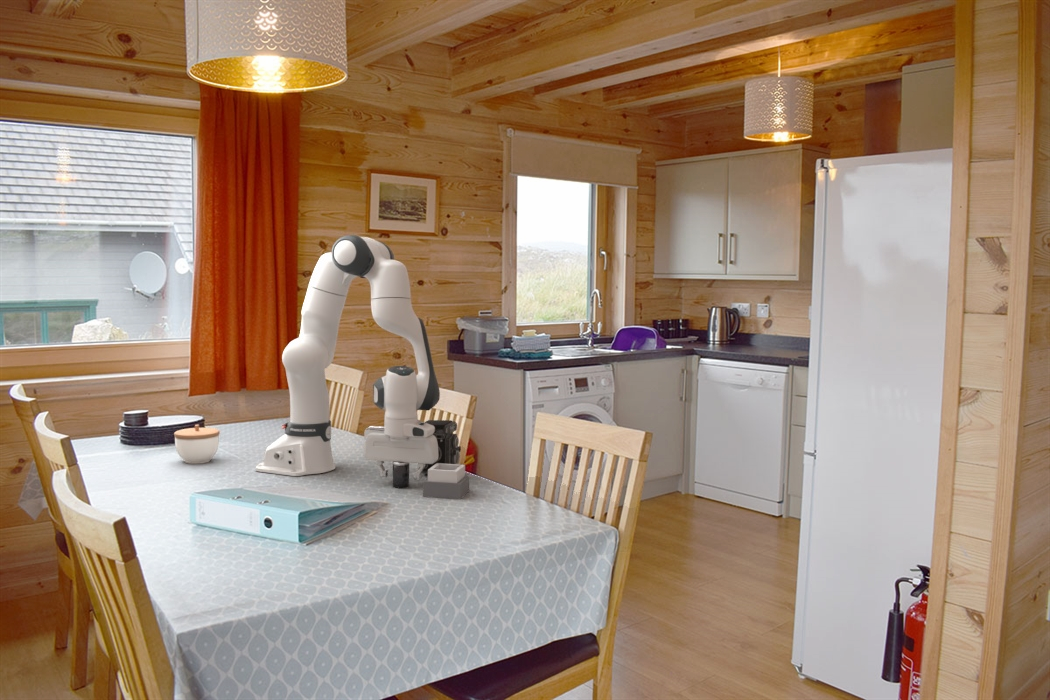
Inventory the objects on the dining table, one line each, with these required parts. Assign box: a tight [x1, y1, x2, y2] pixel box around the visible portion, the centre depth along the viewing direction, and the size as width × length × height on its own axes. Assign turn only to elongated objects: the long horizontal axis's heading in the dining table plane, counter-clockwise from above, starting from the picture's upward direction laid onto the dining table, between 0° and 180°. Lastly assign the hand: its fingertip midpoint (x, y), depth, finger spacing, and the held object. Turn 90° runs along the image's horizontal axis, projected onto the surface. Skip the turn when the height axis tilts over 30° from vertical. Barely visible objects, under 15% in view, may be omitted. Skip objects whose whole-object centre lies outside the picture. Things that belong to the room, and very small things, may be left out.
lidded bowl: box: [173, 424, 220, 465], centre depth 241 cm, size 13×13×11 cm
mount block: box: [422, 463, 470, 500], centre depth 209 cm, size 10×9×7 cm
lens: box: [391, 462, 410, 490], centre depth 216 cm, size 5×5×7 cm
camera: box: [418, 419, 462, 476], centre depth 231 cm, size 10×10×15 cm
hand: (400, 477), depth 216 cm, fingers open, 8 cm apart
